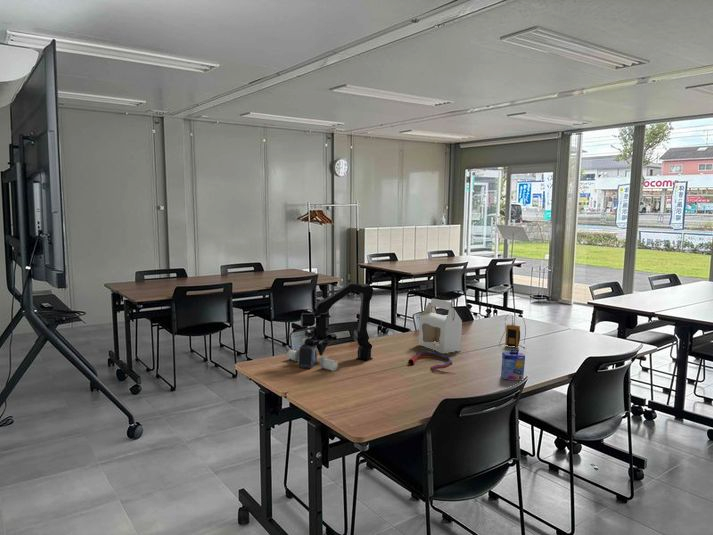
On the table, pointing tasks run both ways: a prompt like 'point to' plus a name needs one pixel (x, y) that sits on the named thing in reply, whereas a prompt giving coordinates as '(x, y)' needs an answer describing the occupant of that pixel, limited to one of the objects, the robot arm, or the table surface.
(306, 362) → the small box
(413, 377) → the table surface
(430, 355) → the toy snake
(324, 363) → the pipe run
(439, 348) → the gable box
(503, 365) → the ink cartridge box
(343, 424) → the table surface
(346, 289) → the robot arm
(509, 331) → the multimeter
